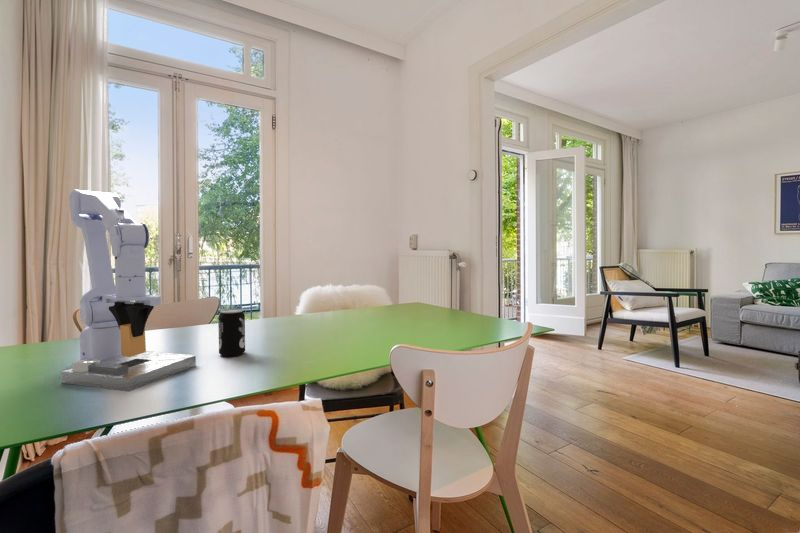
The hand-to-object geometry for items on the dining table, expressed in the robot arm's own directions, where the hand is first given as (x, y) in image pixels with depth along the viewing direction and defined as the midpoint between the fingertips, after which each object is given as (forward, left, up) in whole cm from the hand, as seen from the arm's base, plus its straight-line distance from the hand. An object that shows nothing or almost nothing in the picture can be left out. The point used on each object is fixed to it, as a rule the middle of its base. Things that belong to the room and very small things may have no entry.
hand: (132, 335), depth 91 cm
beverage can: (+11, +20, -9) cm, 25 cm away
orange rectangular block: (0, 0, -4) cm, 4 cm away
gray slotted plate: (0, 0, -9) cm, 9 cm away
